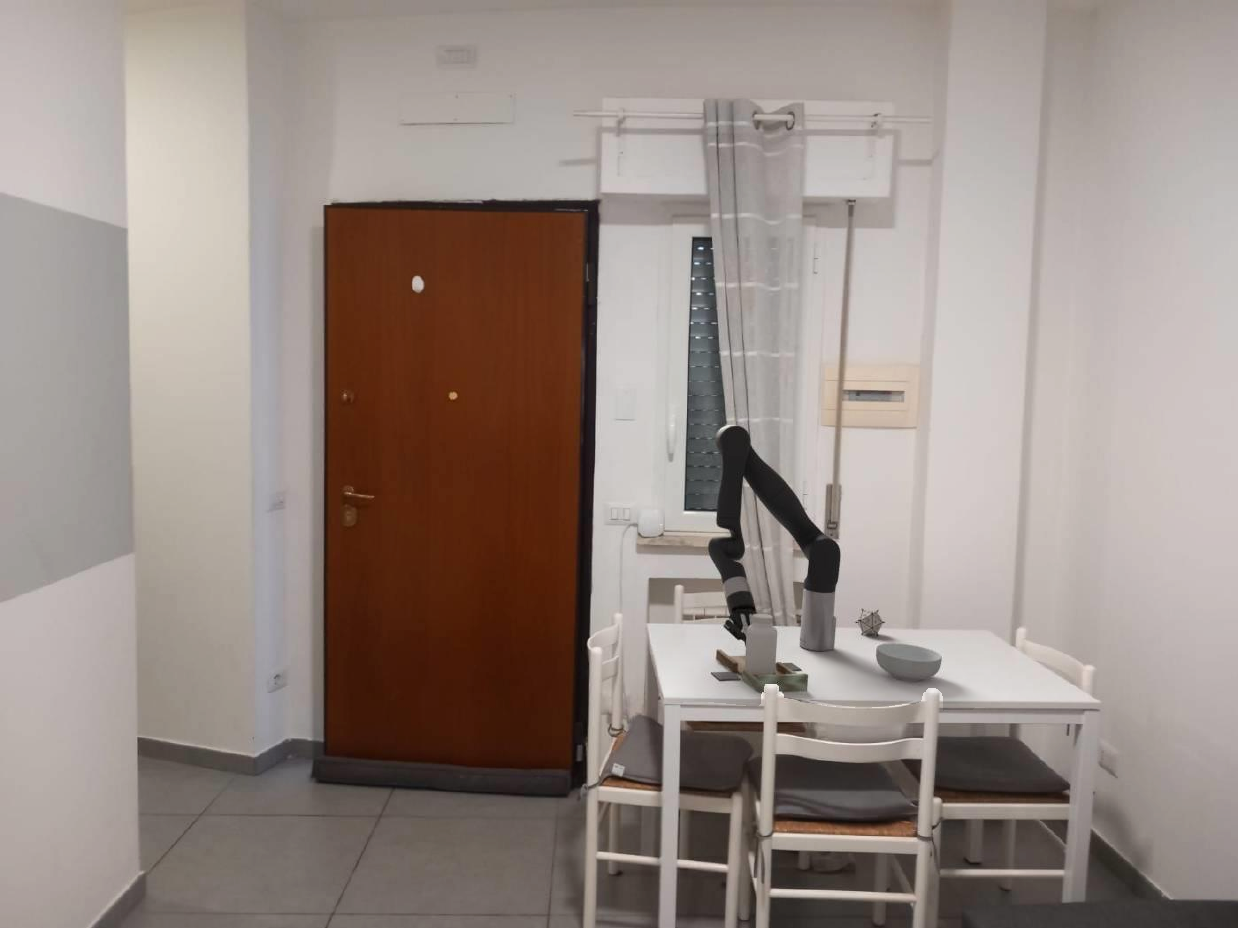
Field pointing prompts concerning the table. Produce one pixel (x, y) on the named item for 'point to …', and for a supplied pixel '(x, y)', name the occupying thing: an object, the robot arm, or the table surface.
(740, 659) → the lane
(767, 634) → the pill bottle
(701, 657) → the table surface
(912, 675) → the cereal bowl
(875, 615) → the spiked polyhedron ball
